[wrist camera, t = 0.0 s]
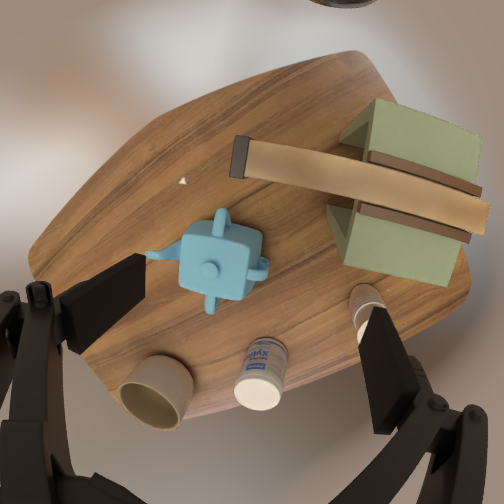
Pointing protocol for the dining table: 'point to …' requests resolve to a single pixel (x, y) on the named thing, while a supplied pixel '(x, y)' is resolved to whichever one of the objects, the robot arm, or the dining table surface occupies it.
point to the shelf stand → (399, 222)
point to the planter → (157, 392)
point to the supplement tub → (262, 375)
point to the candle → (363, 306)
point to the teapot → (217, 259)
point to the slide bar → (357, 182)
